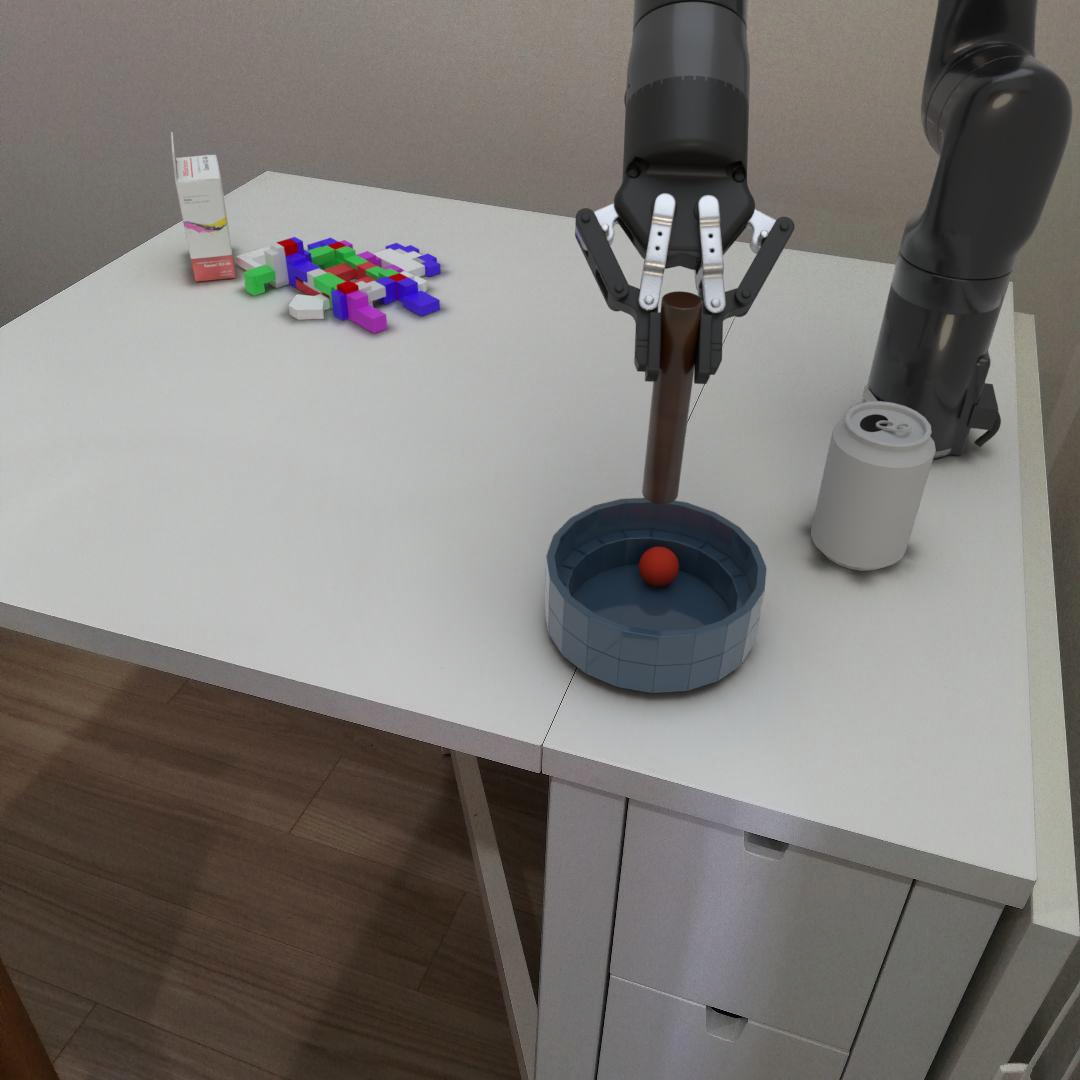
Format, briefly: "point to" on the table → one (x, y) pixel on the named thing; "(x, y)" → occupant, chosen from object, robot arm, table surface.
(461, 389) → the table surface
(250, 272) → the building block set
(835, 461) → the can
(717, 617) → the bowl
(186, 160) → the ink cartridge box
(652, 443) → the stick
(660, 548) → the ball
